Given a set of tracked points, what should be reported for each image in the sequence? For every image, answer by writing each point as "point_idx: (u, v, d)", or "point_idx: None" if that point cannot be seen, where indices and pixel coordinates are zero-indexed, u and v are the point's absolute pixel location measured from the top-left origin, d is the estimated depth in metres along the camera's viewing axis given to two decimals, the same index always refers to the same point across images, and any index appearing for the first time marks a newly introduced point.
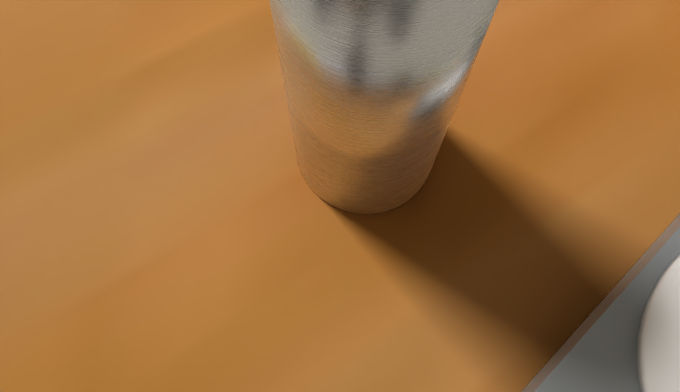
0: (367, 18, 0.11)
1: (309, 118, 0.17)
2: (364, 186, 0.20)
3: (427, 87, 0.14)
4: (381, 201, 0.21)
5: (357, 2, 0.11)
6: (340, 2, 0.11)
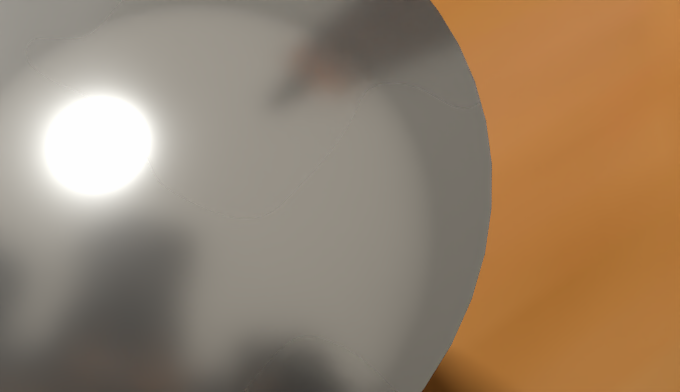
0: None
1: None
2: None
3: None
4: None
5: None
6: None
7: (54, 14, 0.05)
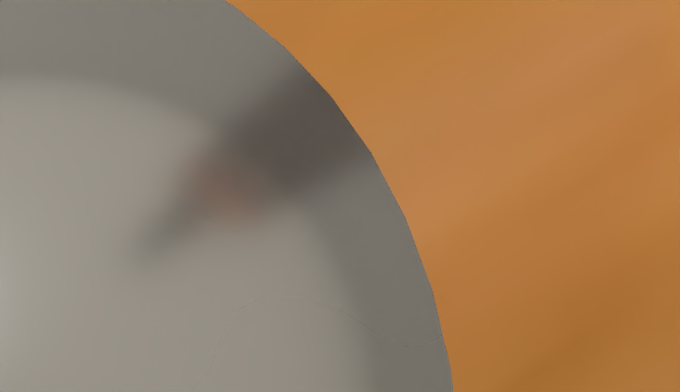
0: None
1: None
2: None
3: None
4: None
5: None
6: None
7: None
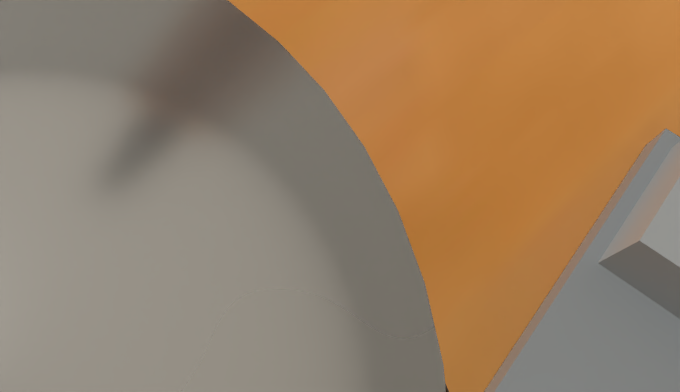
0: None
1: None
2: None
3: None
4: None
5: None
6: None
7: None
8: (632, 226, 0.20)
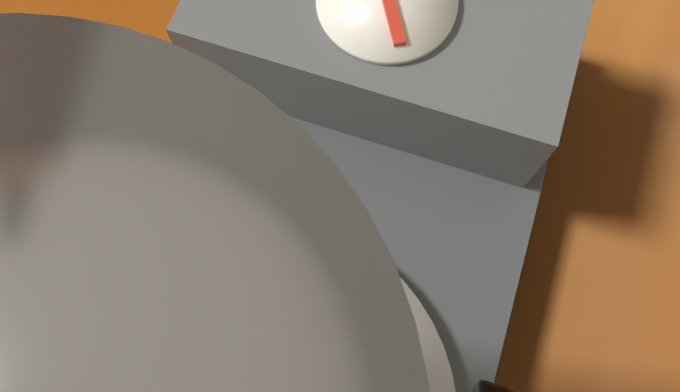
0: None
1: None
2: None
3: None
4: None
5: None
6: None
7: None
8: None
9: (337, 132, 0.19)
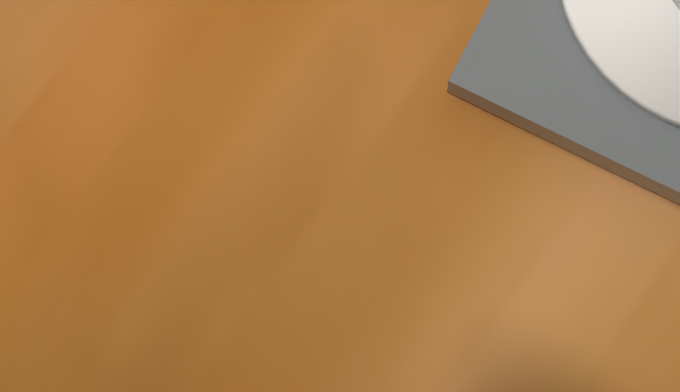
0: None
1: None
2: None
3: None
4: None
5: None
6: None
7: None
8: None
9: None
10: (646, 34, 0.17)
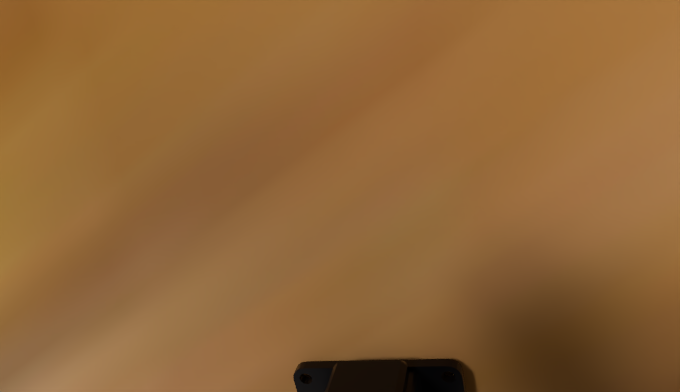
0: None
1: None
2: None
3: None
4: None
5: None
6: None
7: None
8: None
9: None
10: None
